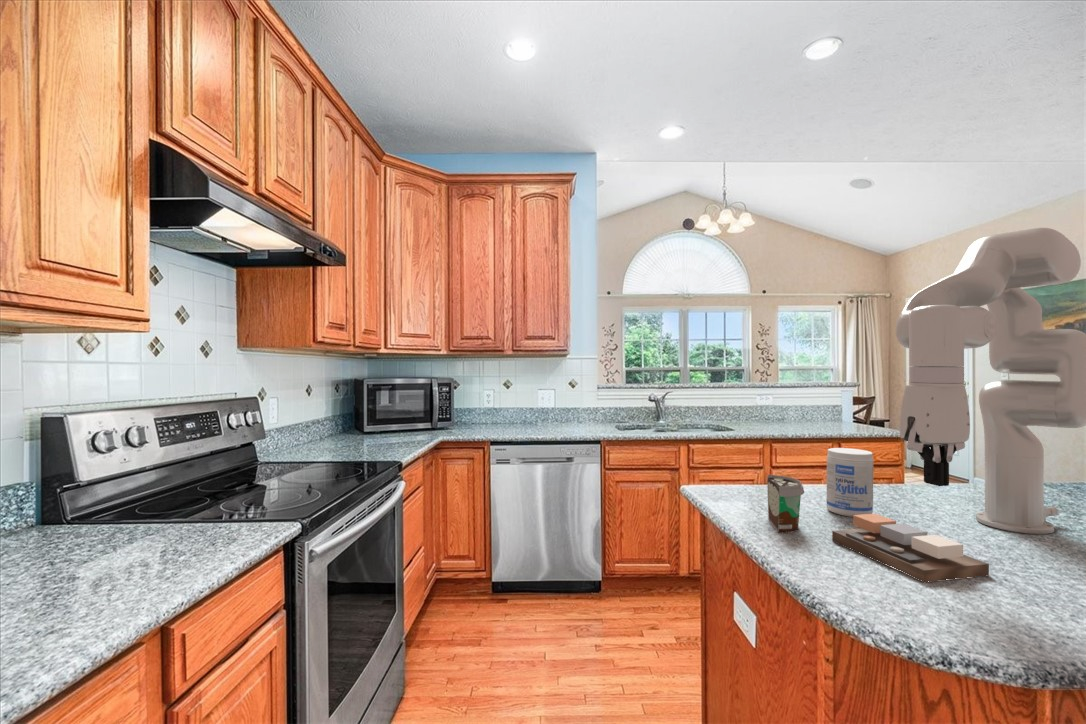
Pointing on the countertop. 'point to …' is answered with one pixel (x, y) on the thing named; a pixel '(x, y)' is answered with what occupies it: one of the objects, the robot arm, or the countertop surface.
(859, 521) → the terracotta key
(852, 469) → the supplement tub
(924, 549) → the cream key
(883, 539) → the keypad board
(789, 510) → the food container
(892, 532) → the grey key
